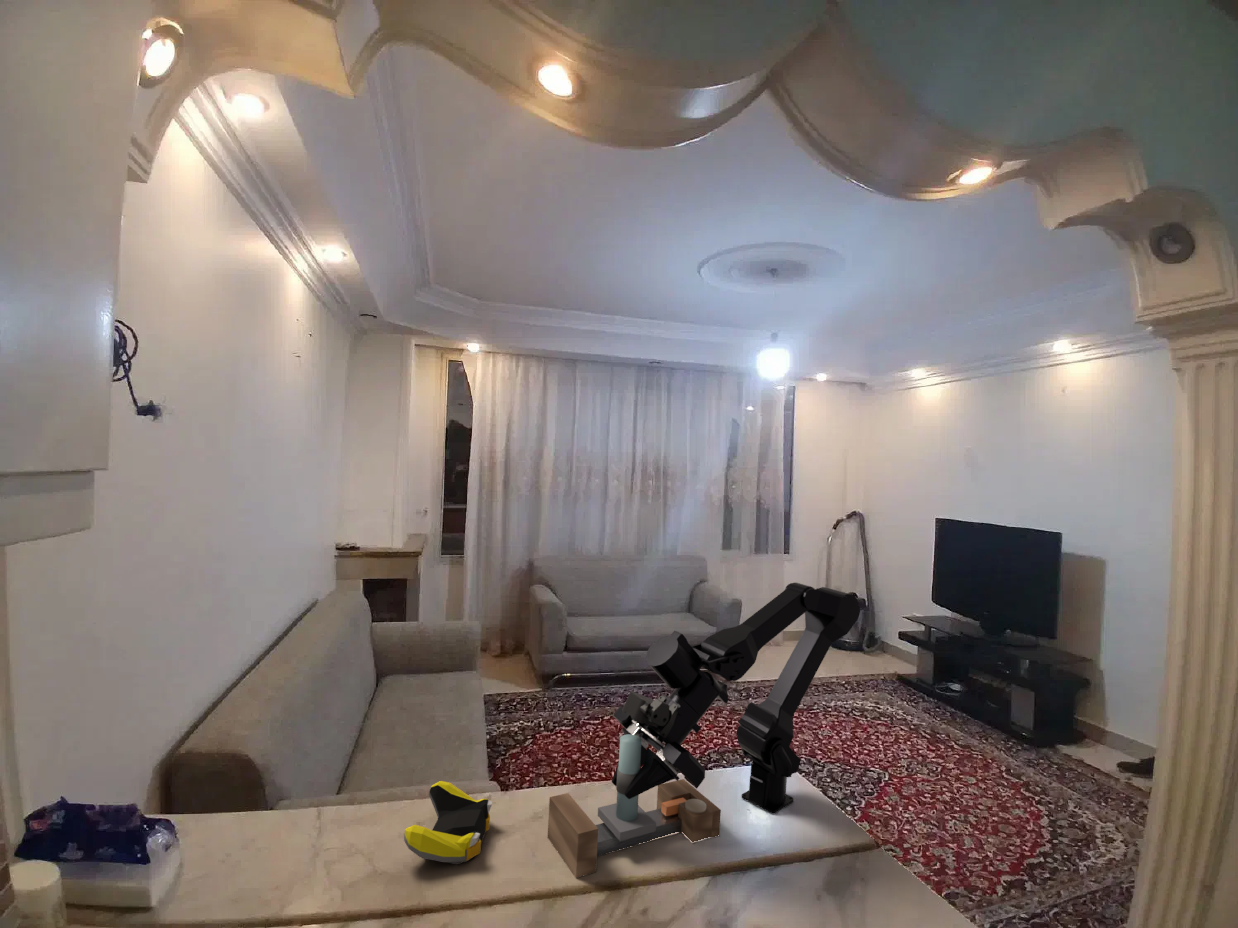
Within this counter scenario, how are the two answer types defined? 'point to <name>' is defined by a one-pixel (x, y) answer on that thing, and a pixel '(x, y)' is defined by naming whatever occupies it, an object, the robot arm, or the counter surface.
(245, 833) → the counter surface
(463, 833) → the gaming controller
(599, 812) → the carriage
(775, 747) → the robot arm
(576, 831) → the end cabinet
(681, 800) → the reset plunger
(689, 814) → the end cabinet
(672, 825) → the track
